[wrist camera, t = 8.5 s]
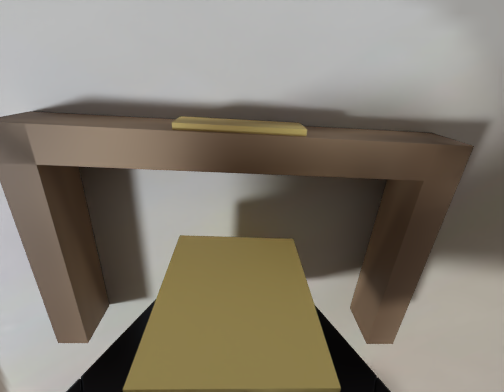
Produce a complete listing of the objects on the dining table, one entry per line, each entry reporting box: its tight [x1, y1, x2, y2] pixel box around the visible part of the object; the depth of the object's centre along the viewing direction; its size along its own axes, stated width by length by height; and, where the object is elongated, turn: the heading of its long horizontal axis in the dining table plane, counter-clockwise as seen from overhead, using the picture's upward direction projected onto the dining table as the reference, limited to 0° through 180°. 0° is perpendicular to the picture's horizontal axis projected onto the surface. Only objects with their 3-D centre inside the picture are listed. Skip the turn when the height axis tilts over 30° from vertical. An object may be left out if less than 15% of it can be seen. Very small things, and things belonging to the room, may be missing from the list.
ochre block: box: [123, 235, 341, 392], centre depth 8 cm, size 4×4×5 cm
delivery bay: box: [0, 111, 474, 344], centre depth 11 cm, size 14×9×2 cm, turn 87°
